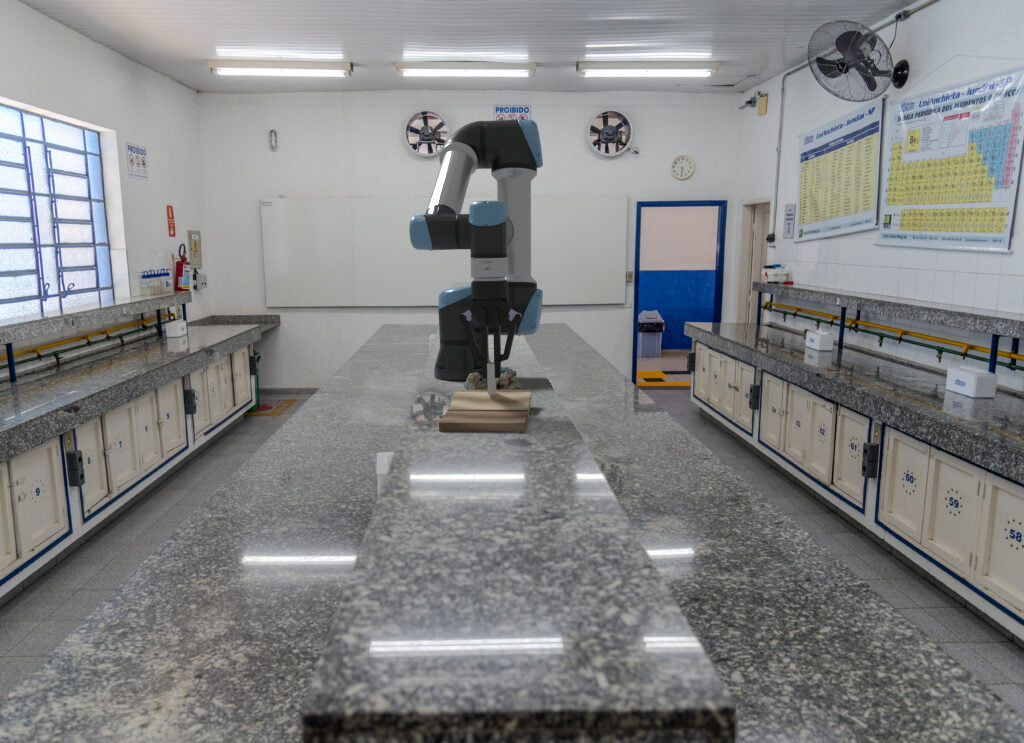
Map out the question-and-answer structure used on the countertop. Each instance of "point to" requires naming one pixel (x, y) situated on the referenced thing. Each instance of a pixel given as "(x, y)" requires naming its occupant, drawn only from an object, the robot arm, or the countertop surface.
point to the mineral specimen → (502, 383)
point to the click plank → (491, 400)
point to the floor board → (484, 420)
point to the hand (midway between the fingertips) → (492, 393)
